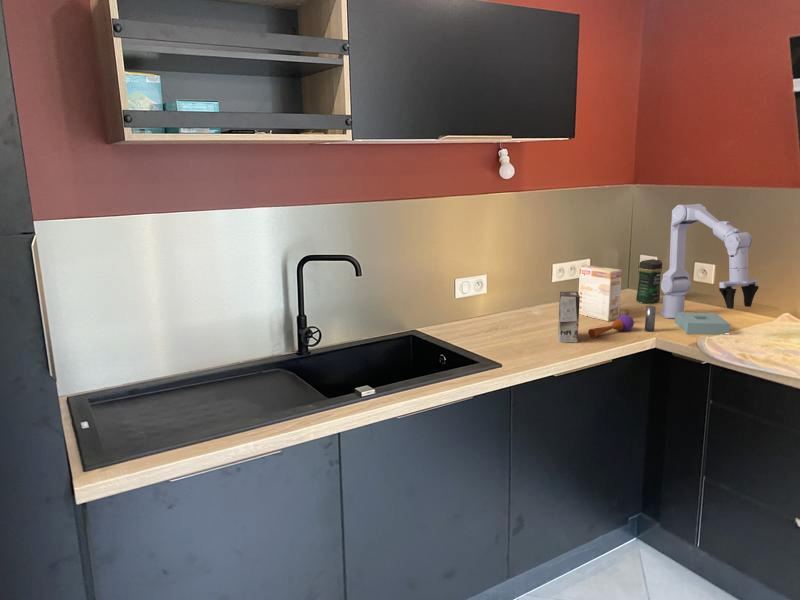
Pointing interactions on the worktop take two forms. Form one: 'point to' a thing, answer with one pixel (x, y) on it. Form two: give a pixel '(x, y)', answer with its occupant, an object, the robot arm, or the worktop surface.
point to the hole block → (702, 323)
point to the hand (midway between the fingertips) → (739, 307)
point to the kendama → (614, 326)
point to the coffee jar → (649, 281)
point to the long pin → (650, 318)
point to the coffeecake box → (599, 292)
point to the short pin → (623, 312)
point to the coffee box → (568, 316)
